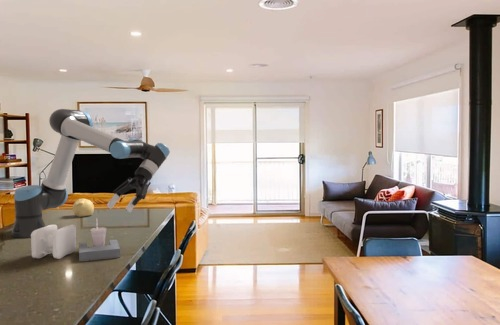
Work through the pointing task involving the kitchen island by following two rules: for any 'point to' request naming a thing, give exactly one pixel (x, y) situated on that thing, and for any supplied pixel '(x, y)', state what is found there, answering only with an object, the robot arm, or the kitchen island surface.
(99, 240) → the smoothie
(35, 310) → the kitchen island surface
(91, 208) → the pale yellow round lump
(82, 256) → the notched board
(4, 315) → the kitchen island surface
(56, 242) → the cable organizer
